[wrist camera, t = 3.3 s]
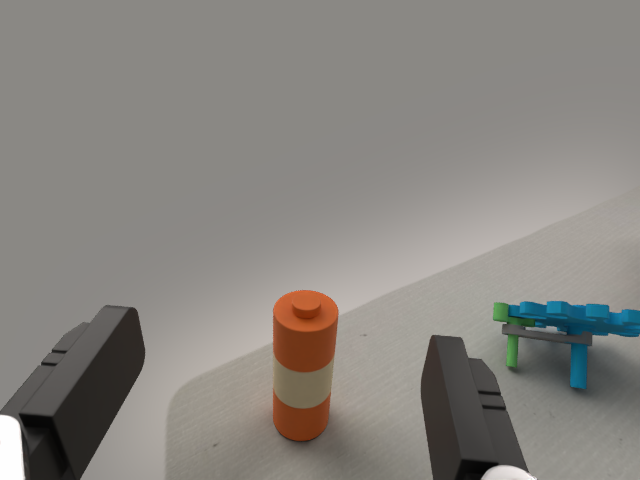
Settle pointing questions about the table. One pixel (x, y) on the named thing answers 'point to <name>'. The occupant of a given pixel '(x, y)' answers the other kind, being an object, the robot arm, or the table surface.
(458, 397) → the robot arm
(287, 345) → the orange cylinder
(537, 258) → the table surface
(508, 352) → the gear
